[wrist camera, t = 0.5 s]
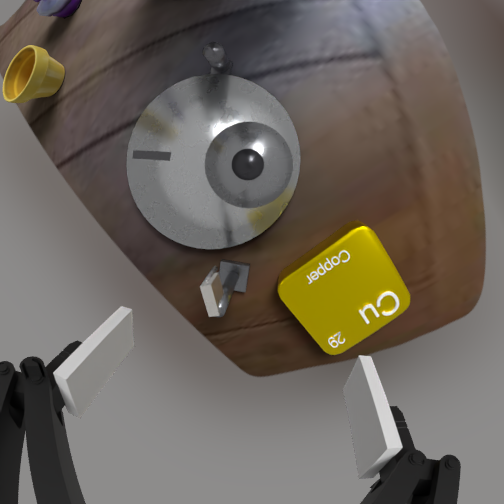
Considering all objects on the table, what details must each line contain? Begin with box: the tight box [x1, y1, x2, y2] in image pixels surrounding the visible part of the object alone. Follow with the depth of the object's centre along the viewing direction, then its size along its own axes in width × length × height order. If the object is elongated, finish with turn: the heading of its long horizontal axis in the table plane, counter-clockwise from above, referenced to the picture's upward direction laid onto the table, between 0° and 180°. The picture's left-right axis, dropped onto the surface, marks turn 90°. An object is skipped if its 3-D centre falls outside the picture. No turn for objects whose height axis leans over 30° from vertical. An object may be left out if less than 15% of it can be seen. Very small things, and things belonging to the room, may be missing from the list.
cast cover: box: [205, 122, 293, 208], centre depth 32 cm, size 10×10×4 cm
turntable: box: [126, 42, 300, 249], centre depth 32 cm, size 27×24×6 cm
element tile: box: [278, 221, 410, 355], centre depth 37 cm, size 15×15×5 cm
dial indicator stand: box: [200, 259, 250, 317], centre depth 35 cm, size 5×4×12 cm
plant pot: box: [3, 45, 65, 103], centre depth 29 cm, size 10×10×10 cm
